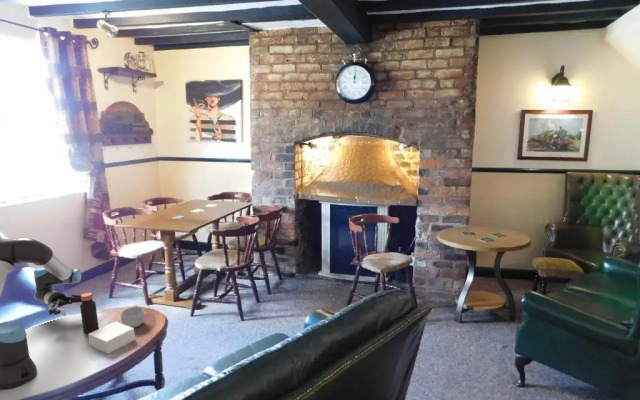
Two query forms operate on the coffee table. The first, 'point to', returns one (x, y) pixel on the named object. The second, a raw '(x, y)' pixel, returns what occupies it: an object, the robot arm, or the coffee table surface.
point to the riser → (111, 337)
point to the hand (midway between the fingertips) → (78, 307)
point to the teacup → (133, 316)
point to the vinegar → (88, 314)
